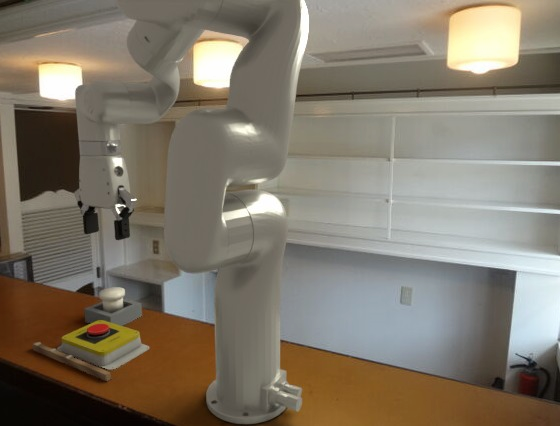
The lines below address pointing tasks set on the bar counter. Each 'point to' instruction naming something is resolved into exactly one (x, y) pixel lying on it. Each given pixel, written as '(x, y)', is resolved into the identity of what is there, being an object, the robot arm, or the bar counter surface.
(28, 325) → the bar counter surface
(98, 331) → the emergency button
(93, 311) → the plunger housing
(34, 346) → the rail
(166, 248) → the robot arm
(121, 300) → the plunger
